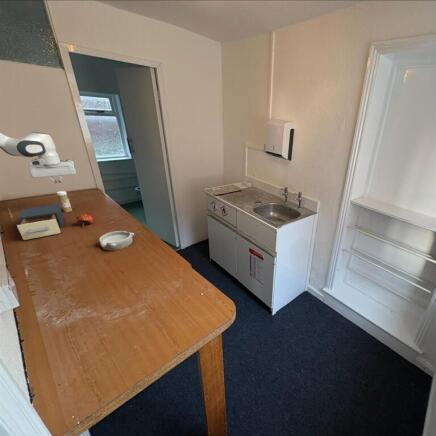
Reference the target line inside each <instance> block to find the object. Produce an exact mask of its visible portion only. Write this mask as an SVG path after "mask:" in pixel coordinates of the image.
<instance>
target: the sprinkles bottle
mask: <svg viewBox="0 0 436 436" xmlns="http://www.w3.org/2000/svg"><path fill="white" fill-rule="evenodd" d="M56 196H57V198H58V200H59V202H60V203H59V204H60V207H61V210H62V211H63V212H62V213H70V212H73V209H72V205H71V202H70V199H69V197H68V193H67V191H66V190H61V191H60V190H59V191H56Z"/></svg>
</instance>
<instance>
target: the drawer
mask: <svg viewBox="0 0 436 436" xmlns="http://www.w3.org/2000/svg"><path fill="white" fill-rule="evenodd" d="M16 227H17V229H18V232H19V233H20V236H21V238H22V240H23V241H26V240H32V239H37V238H41V237H48V236H52V235H53V236H54V235H58V234H61V228H59V221H58V218H57V216H56V214H51V215H44V216H38V217H31V218H25V219H23V220H22V222H21V224H16Z"/></svg>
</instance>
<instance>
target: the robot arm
mask: <svg viewBox="0 0 436 436" xmlns="http://www.w3.org/2000/svg"><path fill="white" fill-rule="evenodd" d="M0 150H2V151H3V153H5V154H7V155H9V156H12V157H23V158H33V159H31V160H29V162H28V164H29V165H30V166H29V167H28V169H29V175H30V176H31V178H33V179H36V178H48V179H50V180H51V181H52V182H53V184H58V183H59V184H63V178H64V177H63V176H72V175H76V174H77V169H76V168H75V166H76V165H75V162H74V161H73V160H71V159H60V157H59V153H58V152H57V148H56V145H55V142H54V140H53V138H52V137H51V135H50V134H48V133H46V132H39V131H37V132H36V131H31V132H30V133H29V134H27V135H26V136H24V137H21V138H17V137H11V136H7V135H5V134H3V133H1V132H0ZM34 157H37V158H34ZM54 177H59V179H54ZM57 180H58V181H57Z"/></svg>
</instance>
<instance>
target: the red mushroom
mask: <svg viewBox="0 0 436 436" xmlns="http://www.w3.org/2000/svg"><path fill="white" fill-rule="evenodd" d="M75 221H76V223H78V224H79V225H80V226H82V227H81V228H84V226H86V225H91V224H92V223H93V222H94V218H93V216H92V215H91V214H89V213H87V212H85V213H81V214H78V215H77V216H76V217H75Z"/></svg>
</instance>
